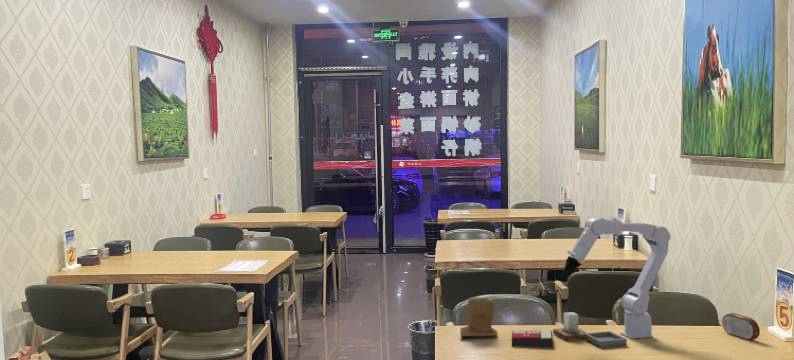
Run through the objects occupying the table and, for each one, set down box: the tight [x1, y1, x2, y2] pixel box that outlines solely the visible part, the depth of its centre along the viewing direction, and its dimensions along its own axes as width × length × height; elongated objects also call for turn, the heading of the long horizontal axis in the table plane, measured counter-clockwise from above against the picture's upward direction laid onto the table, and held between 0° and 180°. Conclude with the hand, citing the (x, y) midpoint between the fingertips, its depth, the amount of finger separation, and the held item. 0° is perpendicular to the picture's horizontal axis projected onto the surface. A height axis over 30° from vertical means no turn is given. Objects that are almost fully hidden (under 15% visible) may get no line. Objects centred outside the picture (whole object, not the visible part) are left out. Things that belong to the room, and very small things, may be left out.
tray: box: [583, 330, 628, 349], centre depth 236 cm, size 11×11×2 cm
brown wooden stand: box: [459, 297, 499, 338], centre depth 248 cm, size 15×12×15 cm
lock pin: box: [563, 311, 579, 334], centre depth 245 cm, size 4×4×9 cm
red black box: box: [511, 329, 554, 349], centre depth 238 cm, size 11×4×15 cm
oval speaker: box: [721, 312, 761, 341], centre depth 241 cm, size 15×3×8 cm, turn 20°
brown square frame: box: [552, 327, 588, 342], centre depth 245 cm, size 10×10×2 cm
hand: (564, 276), depth 239 cm, fingers open, 7 cm apart
